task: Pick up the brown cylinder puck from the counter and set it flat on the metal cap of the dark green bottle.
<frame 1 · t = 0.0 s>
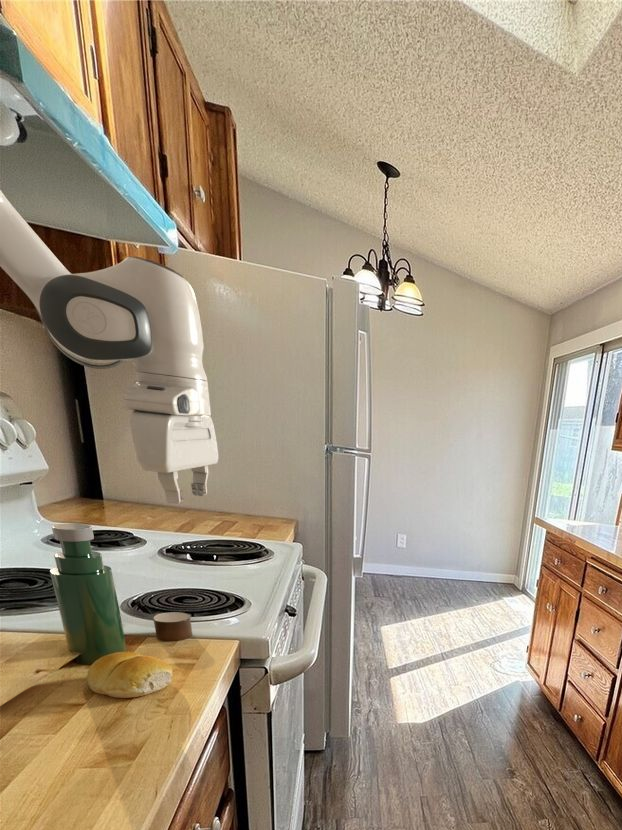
hand: (188, 498, 86), 19 cm above the worktop, tool pointing down, fingers open, 8 cm apart
green bottle: (99, 655, 76), on the worktop
brown cylinder puck: (174, 635, 85), on the worktop
bread roll: (133, 686, 70), on the worktop
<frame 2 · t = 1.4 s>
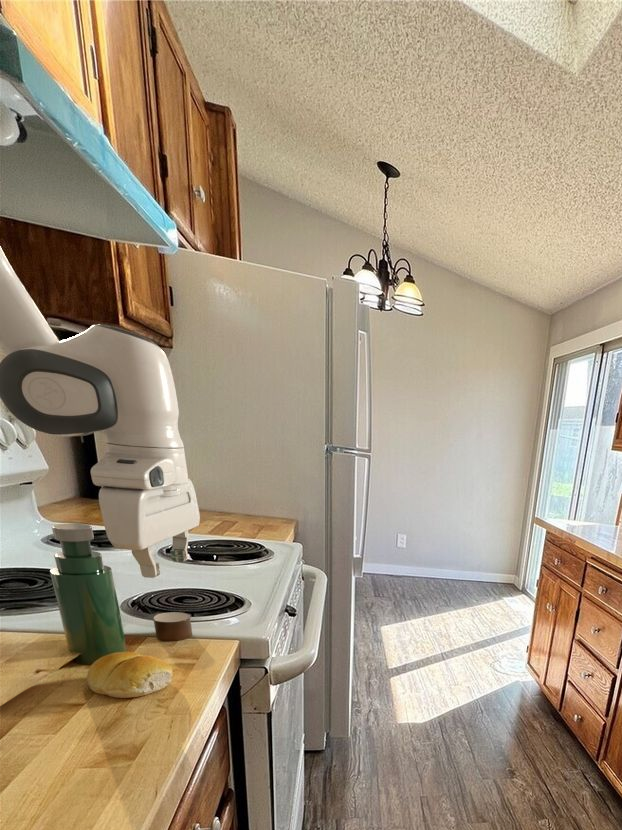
hand: (166, 568, 81), 11 cm above the worktop, tool pointing down, fingers open, 8 cm apart
nothing on the worktop moved.
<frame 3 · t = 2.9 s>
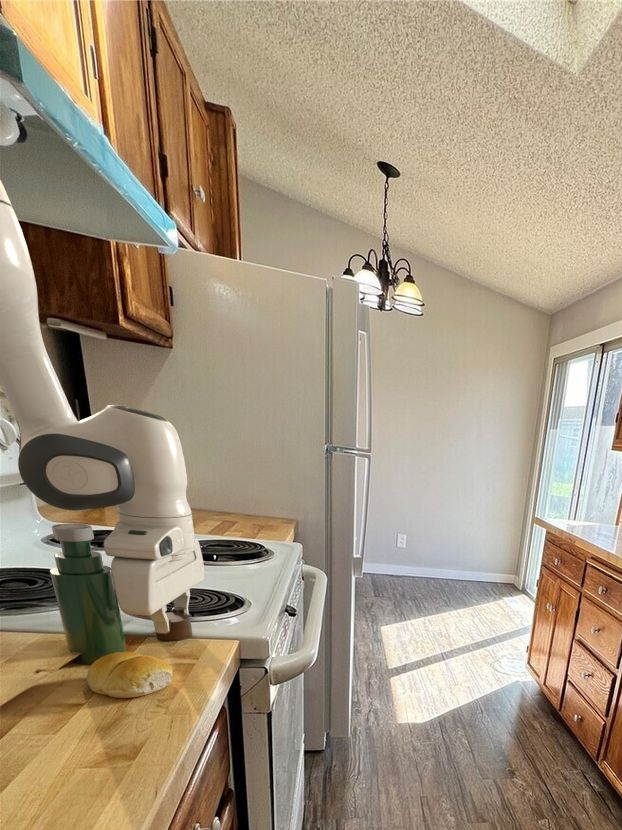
hand: (173, 625, 85), 2 cm above the worktop, tool pointing down, fingers closed on brown cylinder puck, 5 cm apart
brown cylinder puck: (174, 635, 85), on the worktop, touching gripper
everything else where it was.
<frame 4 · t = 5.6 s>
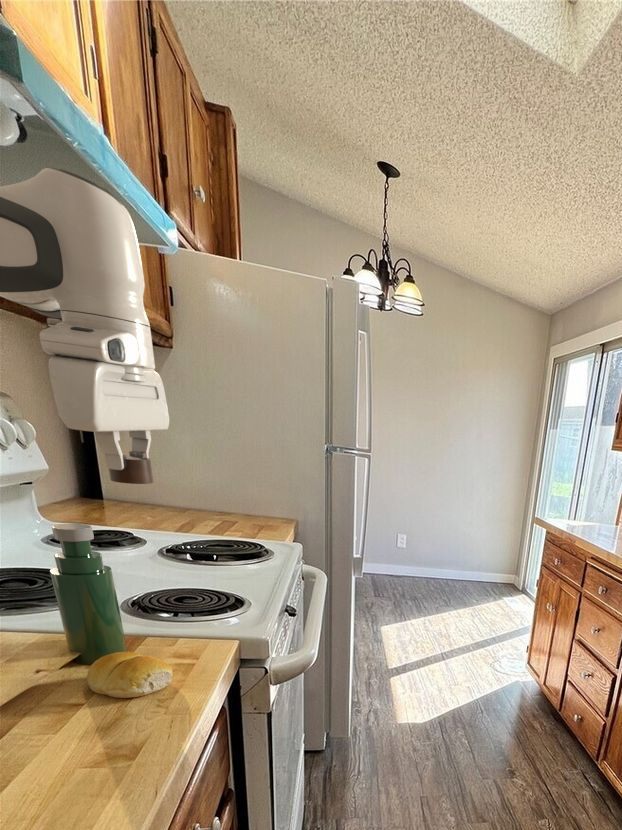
hand: (129, 467, 73), 24 cm above the worktop, tool pointing down, fingers closed on brown cylinder puck, 5 cm apart
brown cylinder puck: (132, 481, 74), point 23 cm above the worktop, touching gripper
everything else where it was.
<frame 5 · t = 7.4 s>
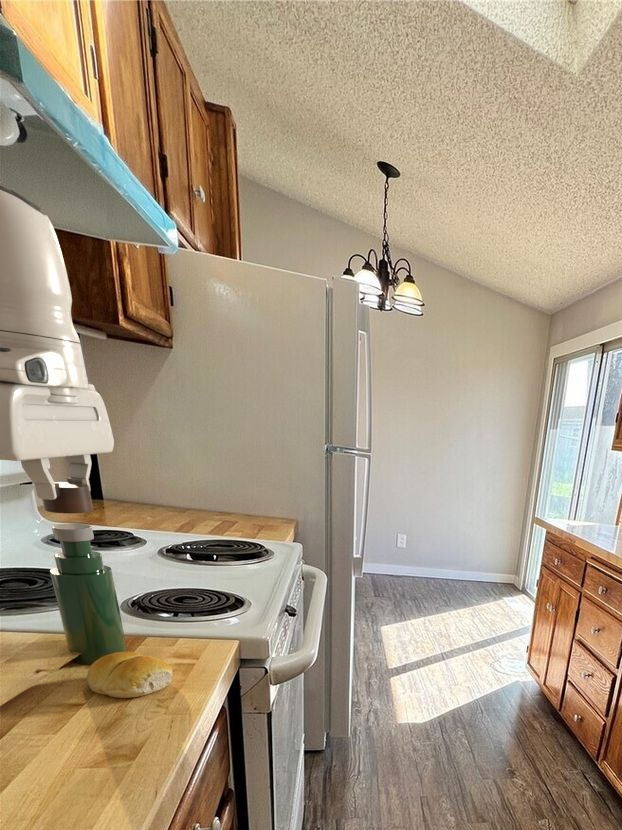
hand: (65, 495, 68), 21 cm above the worktop, tool pointing down, fingers closed on brown cylinder puck, 5 cm apart
brown cylinder puck: (69, 510, 68), point 19 cm above the worktop, touching gripper
everything else where it was.
when the fingers open (19 cm above the worktop, at t = 8.5 s): brown cylinder puck stays where it is, resting on green bottle.
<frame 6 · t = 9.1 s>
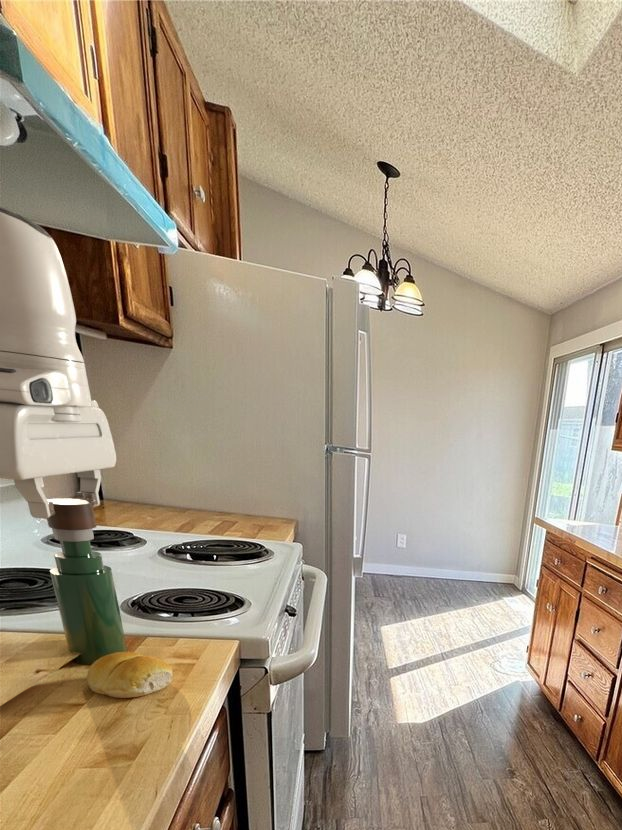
hand: (68, 511, 68), 19 cm above the worktop, tool pointing down, fingers open, 8 cm apart
green bottle: (99, 655, 76), on the worktop, touching brown cylinder puck
brown cylinder puck: (73, 526, 69), point 17 cm above the worktop, touching green bottle
everything else where it was.
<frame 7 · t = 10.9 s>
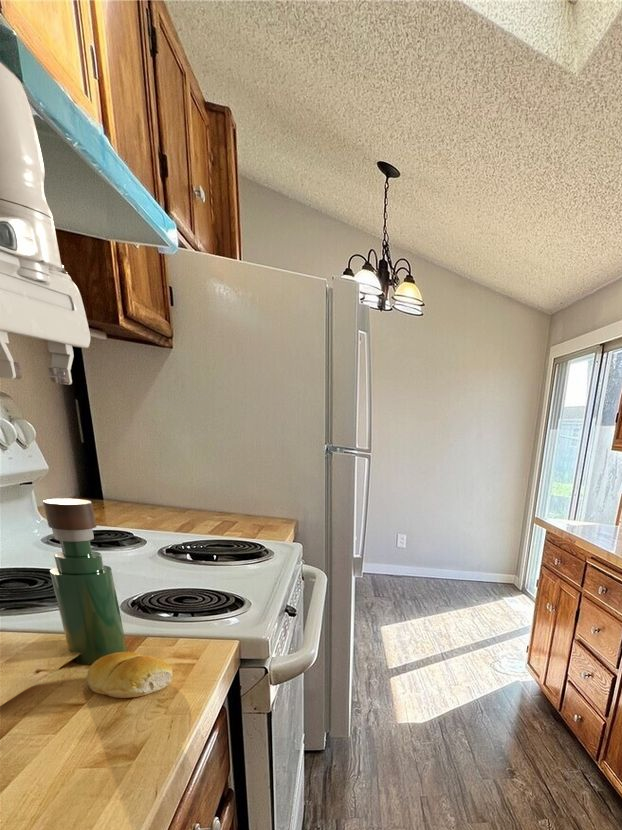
hand: (37, 381, 67), 34 cm above the worktop, tool pointing down, fingers open, 8 cm apart
nothing on the worktop moved.
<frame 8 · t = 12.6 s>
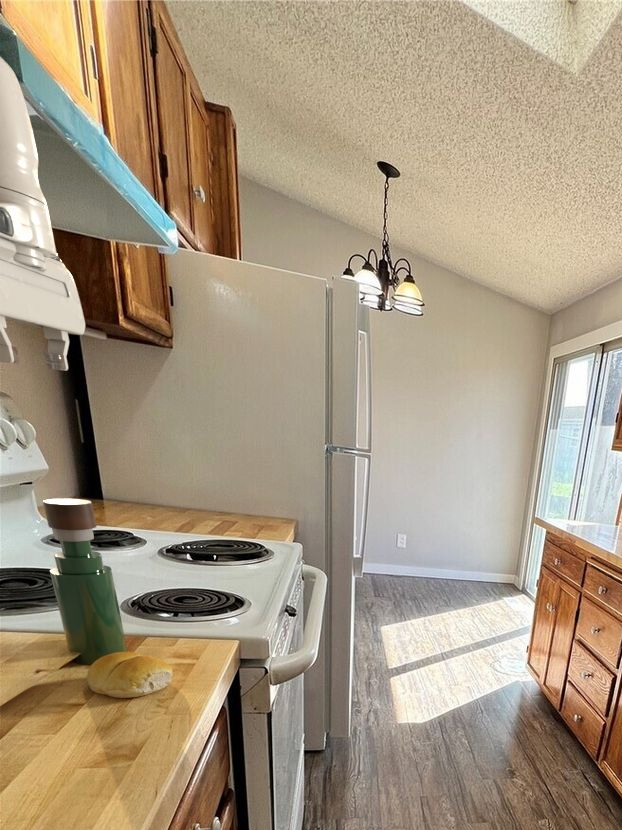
hand: (34, 366, 68), 35 cm above the worktop, tool pointing down, fingers open, 8 cm apart
nothing on the worktop moved.
at the end: brown cylinder puck 0.1 cm off-centre on the green bottle, point 17.5 cm above the green bottle's base; green bottle tilted 0°; the gripper is holding nothing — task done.
